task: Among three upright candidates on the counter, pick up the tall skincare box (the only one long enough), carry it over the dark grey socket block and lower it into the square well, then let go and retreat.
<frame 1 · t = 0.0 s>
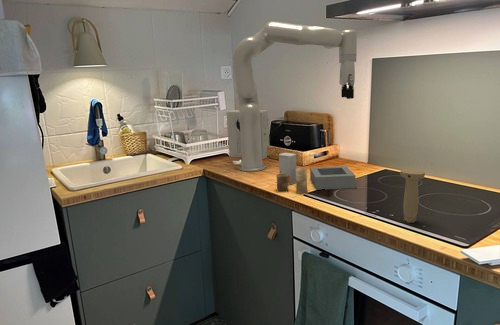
hand: (347, 97, 173), 31 cm above the table, tool pointing down, fingers open, 9 cm apart
socket block: (331, 183, 151), on the table
short walnut dowel: (282, 190, 146), on the table
handle: (409, 221, 111), on the table
skincare box: (288, 183, 156), on the table
grey brown upright block: (301, 192, 142), on the table
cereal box: (249, 156, 208), on the table
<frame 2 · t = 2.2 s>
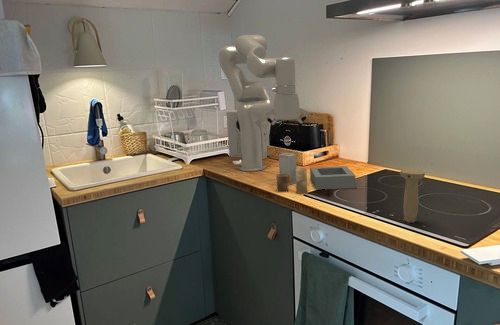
hand: (287, 133, 151), 20 cm above the table, tool pointing down, fingers open, 9 cm apart
nothing on the table moved.
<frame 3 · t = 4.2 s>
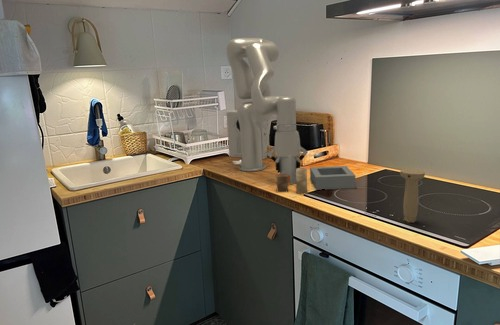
hand: (287, 171, 155), 5 cm above the table, tool pointing down, fingers closed on skincare box, 7 cm apart
skincare box: (288, 182, 156), on the table, touching gripper
everything else where it was.
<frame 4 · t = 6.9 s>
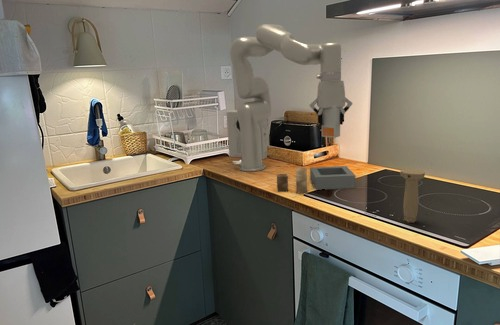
hand: (330, 124, 146), 24 cm above the table, tool pointing down, fingers closed on skincare box, 7 cm apart
skincare box: (330, 137, 147), point 19 cm above the table, touching gripper
everything else where it was.
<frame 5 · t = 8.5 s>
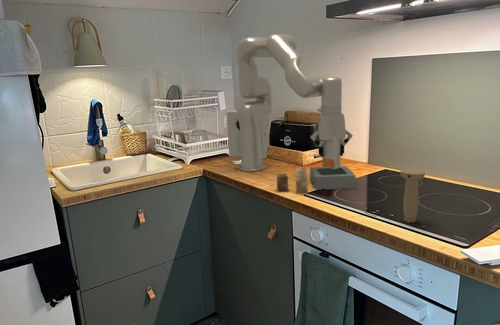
hand: (331, 155, 149), 11 cm above the table, tool pointing down, fingers closed on skincare box, 7 cm apart
skincare box: (331, 167, 150), point 6 cm above the table, touching gripper
everything else where it was.
when the fingers open (8 cm above the table, at t = 9.8 s): skincare box drops 1 cm, resting on socket block.
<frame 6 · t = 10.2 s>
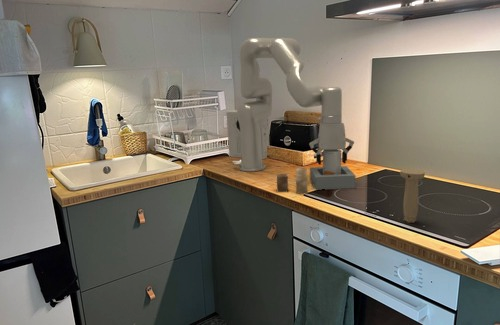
hand: (331, 163, 149), 8 cm above the table, tool pointing down, fingers open, 9 cm apart
skincare box: (332, 180, 151), point 1 cm above the table, touching socket block
everything else where it was.
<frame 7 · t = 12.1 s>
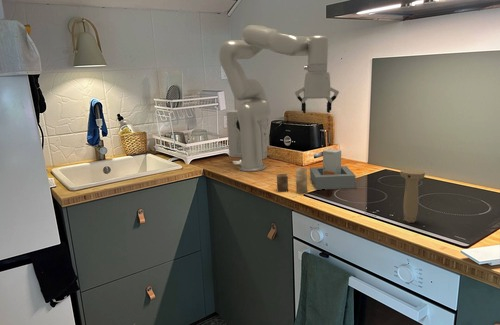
hand: (316, 112, 152), 28 cm above the table, tool pointing down, fingers open, 9 cm apart
nothing on the table moved.
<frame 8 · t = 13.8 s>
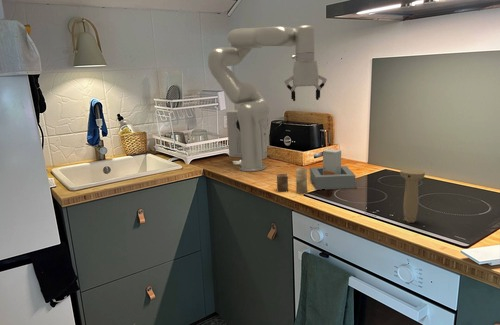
hand: (305, 100, 158), 32 cm above the table, tool pointing down, fingers open, 9 cm apart
nothing on the table moved.
at the end: skincare box inside the target area on the socket block (0.2 cm from its centre), point 1.3 cm above the socket block's base; skincare box tilted 0°; the gripper is holding nothing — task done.
